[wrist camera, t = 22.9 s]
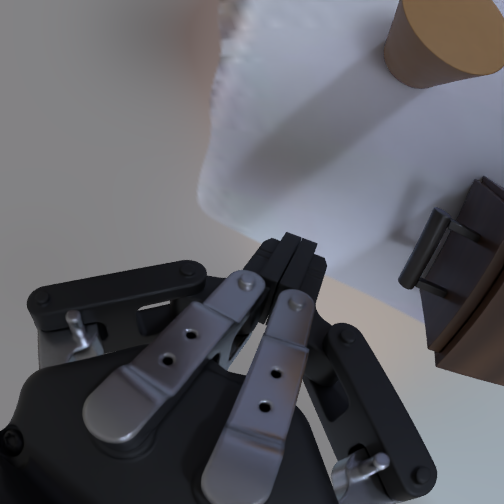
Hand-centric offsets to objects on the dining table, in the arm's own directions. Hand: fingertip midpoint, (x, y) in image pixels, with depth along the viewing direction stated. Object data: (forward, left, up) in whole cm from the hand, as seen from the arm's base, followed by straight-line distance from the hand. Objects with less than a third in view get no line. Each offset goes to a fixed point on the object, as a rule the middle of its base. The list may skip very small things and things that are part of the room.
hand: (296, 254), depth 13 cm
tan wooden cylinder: (-13, +4, -12) cm, 18 cm away
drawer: (0, +16, -11) cm, 20 cm away
